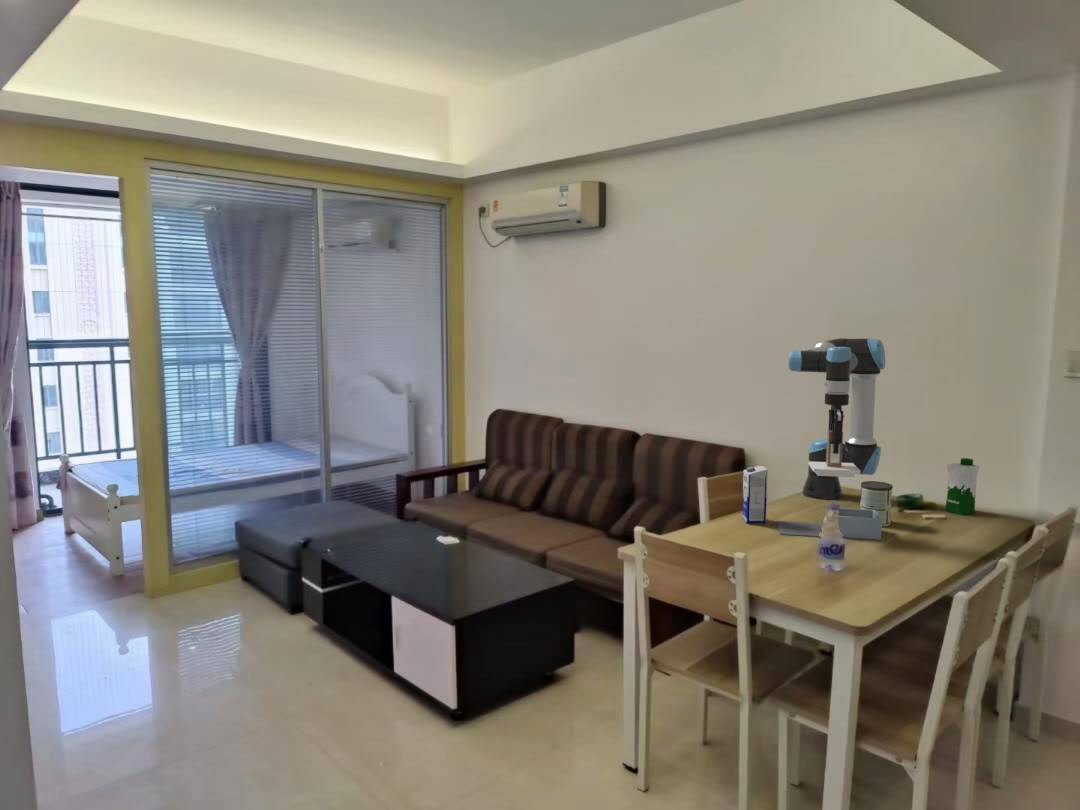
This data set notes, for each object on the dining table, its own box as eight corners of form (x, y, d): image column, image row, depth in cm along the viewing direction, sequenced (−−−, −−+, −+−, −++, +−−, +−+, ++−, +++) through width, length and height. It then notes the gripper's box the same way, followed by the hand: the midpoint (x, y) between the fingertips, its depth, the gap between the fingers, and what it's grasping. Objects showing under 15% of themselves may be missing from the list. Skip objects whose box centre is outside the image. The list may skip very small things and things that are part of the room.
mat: (776, 521, 264) (776, 520, 264) (817, 524, 260) (817, 523, 260) (780, 534, 248) (780, 533, 248) (823, 537, 245) (823, 536, 245)
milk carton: (765, 523, 261) (767, 468, 259) (746, 523, 261) (748, 468, 259) (760, 518, 268) (762, 464, 266) (741, 518, 268) (743, 464, 266)
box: (830, 526, 258) (831, 507, 257) (873, 529, 254) (874, 509, 253) (835, 536, 246) (836, 516, 245) (880, 539, 243) (881, 519, 242)
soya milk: (978, 513, 274) (982, 460, 272) (962, 516, 271) (966, 462, 268) (956, 507, 282) (960, 456, 280) (940, 510, 279) (944, 458, 276)
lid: (808, 468, 257) (809, 427, 255) (852, 470, 254) (854, 428, 252) (813, 476, 245) (815, 433, 243) (860, 478, 242) (862, 434, 240)
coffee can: (854, 518, 268) (856, 480, 266) (884, 519, 267) (886, 481, 265) (864, 526, 258) (866, 487, 256) (894, 527, 257) (897, 487, 255)
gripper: (821, 390, 255) (818, 456, 258) (829, 395, 239) (826, 465, 242) (844, 390, 253) (840, 457, 256) (853, 395, 237) (850, 466, 240)
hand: (833, 461), depth 249 cm, fingers closed on lid, 3 cm apart
